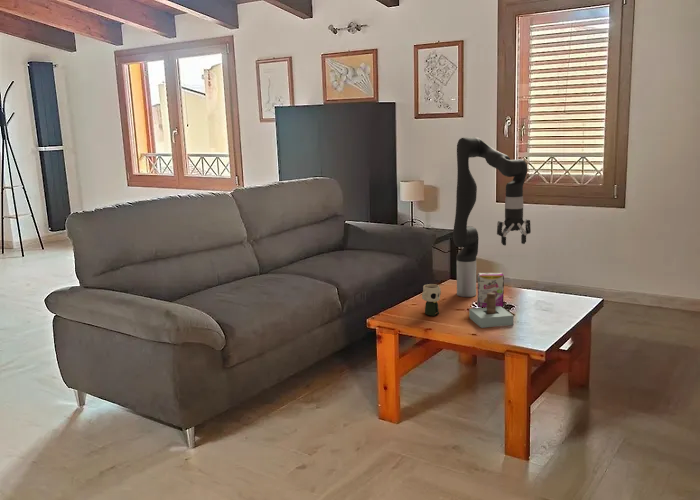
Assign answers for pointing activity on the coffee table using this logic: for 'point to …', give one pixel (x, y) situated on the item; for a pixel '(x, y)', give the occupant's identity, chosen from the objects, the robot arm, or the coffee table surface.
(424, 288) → the character mug
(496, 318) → the socket
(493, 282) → the candy bar box
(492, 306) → the peg
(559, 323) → the coffee table surface
